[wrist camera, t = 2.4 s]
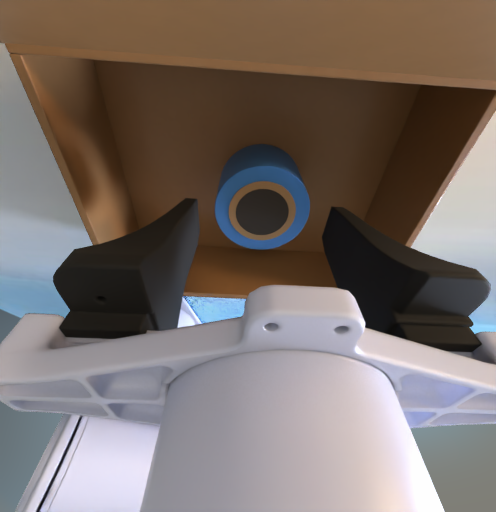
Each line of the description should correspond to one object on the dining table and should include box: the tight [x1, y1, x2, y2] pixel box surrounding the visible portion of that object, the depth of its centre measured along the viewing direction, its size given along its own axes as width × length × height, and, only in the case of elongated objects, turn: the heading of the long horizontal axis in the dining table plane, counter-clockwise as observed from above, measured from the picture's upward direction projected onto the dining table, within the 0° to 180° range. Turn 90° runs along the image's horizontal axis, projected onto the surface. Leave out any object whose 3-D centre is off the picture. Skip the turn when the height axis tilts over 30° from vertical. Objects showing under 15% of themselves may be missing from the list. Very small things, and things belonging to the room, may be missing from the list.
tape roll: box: [215, 144, 310, 250], centre depth 15 cm, size 5×5×4 cm
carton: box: [5, 43, 496, 299], centre depth 15 cm, size 18×13×5 cm
